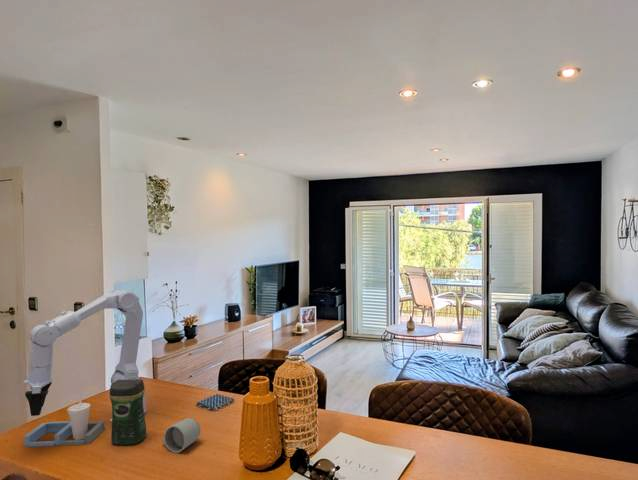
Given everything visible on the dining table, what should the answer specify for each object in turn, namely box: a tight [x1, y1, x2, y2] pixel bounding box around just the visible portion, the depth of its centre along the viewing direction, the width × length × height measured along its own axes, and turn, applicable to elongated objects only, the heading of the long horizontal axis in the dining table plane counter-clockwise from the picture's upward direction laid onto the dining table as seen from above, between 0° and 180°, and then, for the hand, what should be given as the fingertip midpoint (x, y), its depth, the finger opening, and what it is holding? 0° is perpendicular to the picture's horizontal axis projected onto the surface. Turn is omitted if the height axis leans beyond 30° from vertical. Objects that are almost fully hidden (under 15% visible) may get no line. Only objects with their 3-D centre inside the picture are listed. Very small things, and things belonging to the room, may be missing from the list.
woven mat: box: [195, 393, 235, 413], centre depth 156 cm, size 10×11×2 cm
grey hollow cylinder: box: [162, 417, 201, 454], centre depth 127 cm, size 11×8×8 cm
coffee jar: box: [109, 378, 147, 446], centre depth 131 cm, size 10×8×19 cm
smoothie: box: [66, 392, 91, 440], centre depth 133 cm, size 6×6×14 cm
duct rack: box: [23, 420, 106, 448], centre depth 133 cm, size 20×10×3 cm, turn 92°
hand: (37, 411), depth 128 cm, fingers open, 7 cm apart
